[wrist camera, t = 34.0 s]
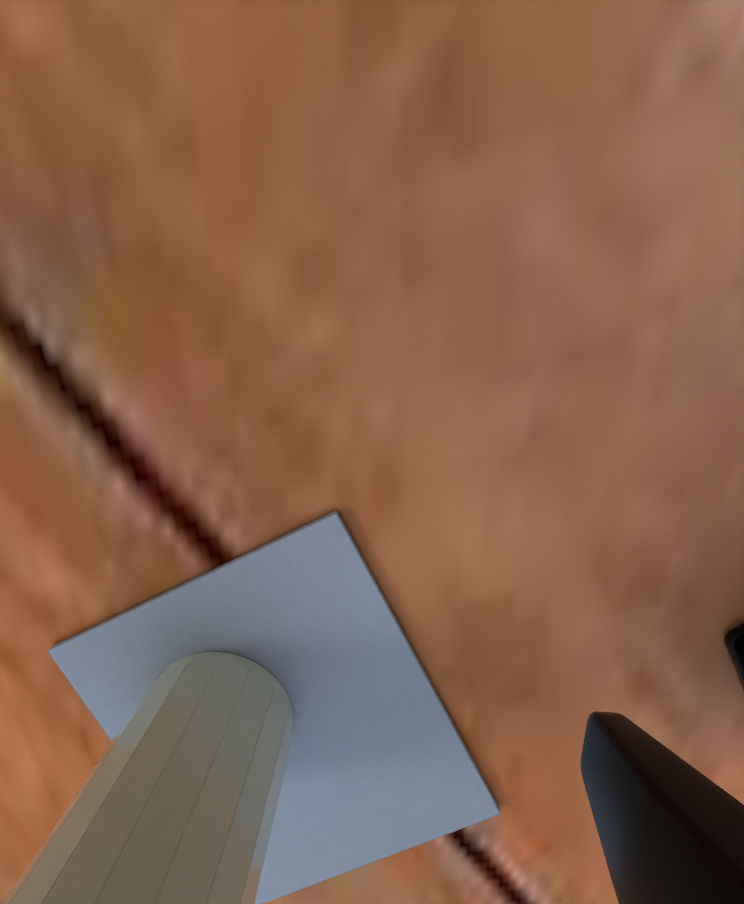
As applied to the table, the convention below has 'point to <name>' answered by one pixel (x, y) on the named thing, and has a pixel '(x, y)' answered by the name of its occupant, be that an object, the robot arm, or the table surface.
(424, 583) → the table surface
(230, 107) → the table surface
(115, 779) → the cup
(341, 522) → the mat
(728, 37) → the table surface
